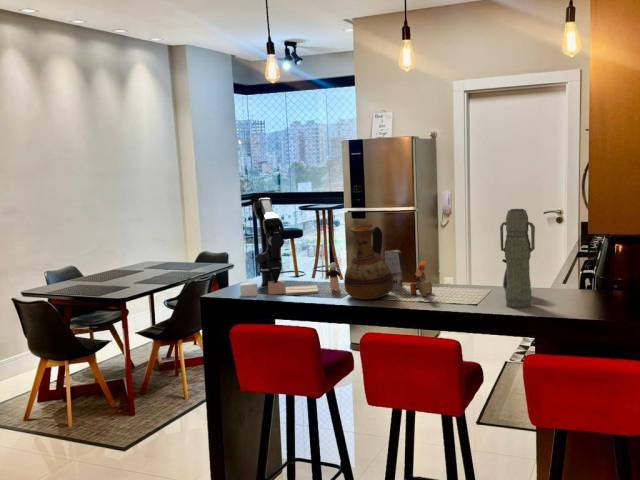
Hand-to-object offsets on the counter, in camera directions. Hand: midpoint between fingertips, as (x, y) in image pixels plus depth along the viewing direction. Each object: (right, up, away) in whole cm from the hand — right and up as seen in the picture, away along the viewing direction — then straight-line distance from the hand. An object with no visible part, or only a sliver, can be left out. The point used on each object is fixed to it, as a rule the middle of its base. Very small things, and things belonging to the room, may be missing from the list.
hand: (275, 281), depth 273 cm
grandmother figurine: (+26, -4, -3) cm, 26 cm away
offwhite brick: (-12, -6, 0) cm, 13 cm away
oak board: (+11, -5, +1) cm, 12 cm away
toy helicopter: (+61, -5, -24) cm, 66 cm away
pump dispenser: (+95, -4, -32) cm, 101 cm away
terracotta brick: (0, -5, +1) cm, 5 cm away
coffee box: (+52, -3, -4) cm, 52 cm away
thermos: (+91, -6, -47) cm, 103 cm away
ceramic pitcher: (+40, -6, -18) cm, 44 cm away
